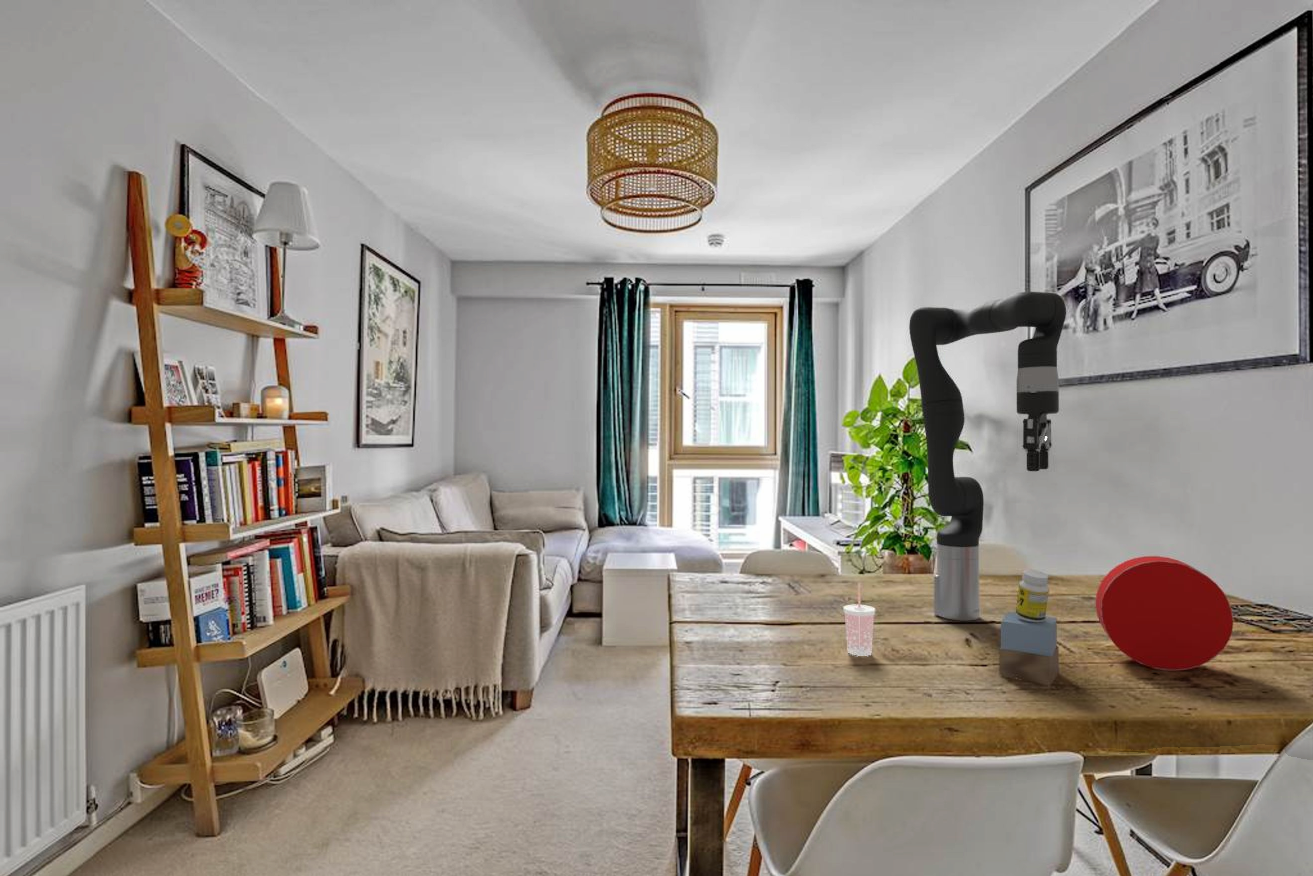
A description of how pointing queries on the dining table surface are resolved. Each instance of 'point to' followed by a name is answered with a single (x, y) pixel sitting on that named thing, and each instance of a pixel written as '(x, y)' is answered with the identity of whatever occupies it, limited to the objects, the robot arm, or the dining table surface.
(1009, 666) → the tower base block
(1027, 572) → the supplement bottle
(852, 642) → the beverage cup
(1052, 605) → the dining table surface
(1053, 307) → the robot arm
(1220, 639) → the red disc
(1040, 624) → the tower top block
